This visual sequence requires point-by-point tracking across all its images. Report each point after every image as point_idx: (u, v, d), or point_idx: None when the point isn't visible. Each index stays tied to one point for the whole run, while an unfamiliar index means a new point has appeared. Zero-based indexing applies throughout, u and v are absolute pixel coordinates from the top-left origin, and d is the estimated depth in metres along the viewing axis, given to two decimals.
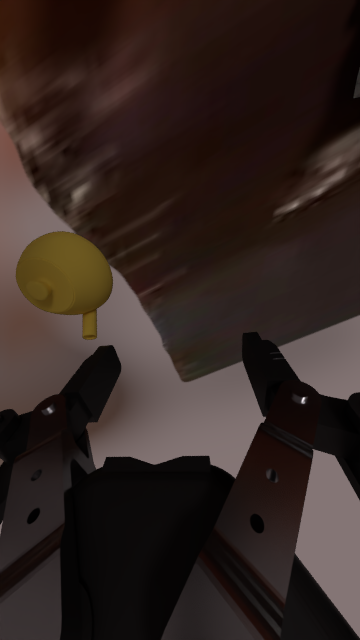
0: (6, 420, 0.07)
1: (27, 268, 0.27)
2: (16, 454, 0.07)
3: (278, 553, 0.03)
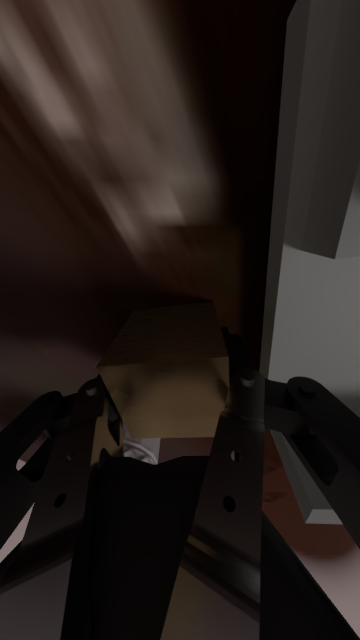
0: (54, 400, 0.07)
1: None
2: None
3: (249, 522, 0.03)
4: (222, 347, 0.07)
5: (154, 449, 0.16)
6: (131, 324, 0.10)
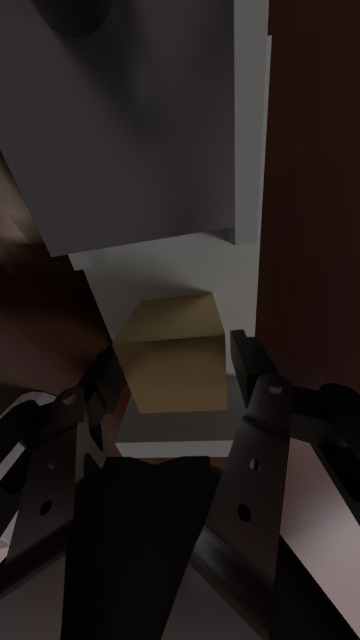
0: (29, 410, 0.07)
1: None
2: (36, 444, 0.07)
3: (265, 537, 0.03)
4: (220, 327, 0.08)
5: None
6: (139, 312, 0.11)
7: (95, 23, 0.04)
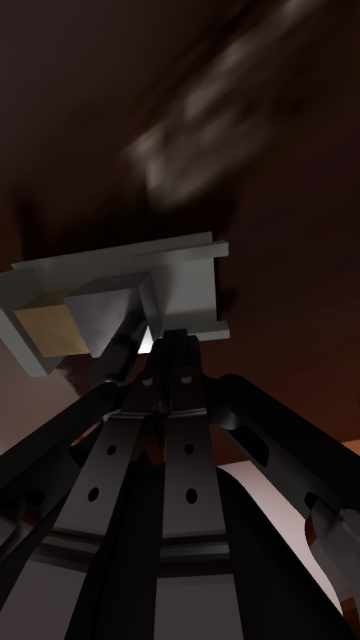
0: (112, 391, 0.07)
1: None
2: None
3: (211, 502, 0.04)
4: None
5: None
6: None
7: None
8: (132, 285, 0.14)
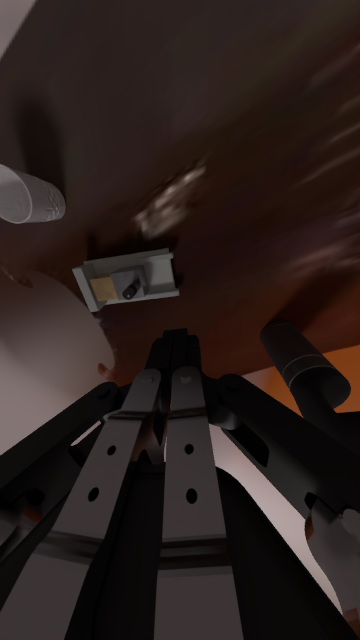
0: (112, 391, 0.07)
1: None
2: None
3: (211, 502, 0.04)
4: None
5: (55, 219, 0.37)
6: None
7: None
8: (135, 269, 0.37)
